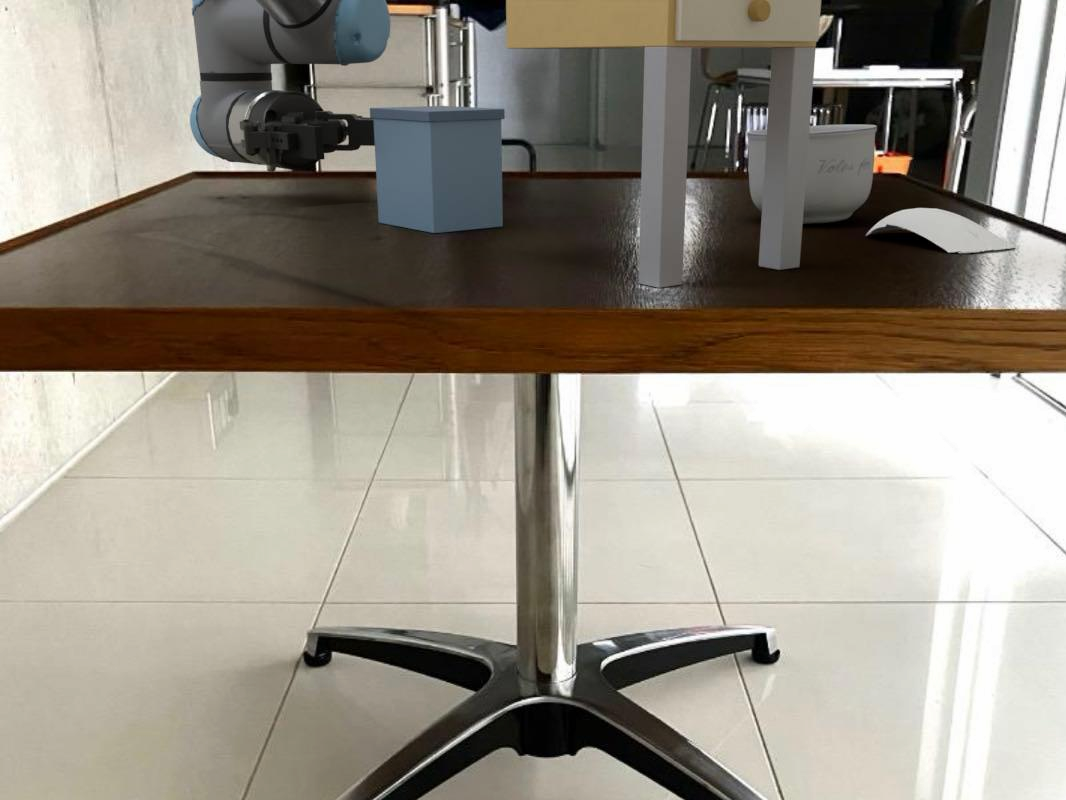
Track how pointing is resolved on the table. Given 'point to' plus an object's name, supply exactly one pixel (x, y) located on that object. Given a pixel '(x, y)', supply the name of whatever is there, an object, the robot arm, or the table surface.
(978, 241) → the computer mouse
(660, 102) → the drawer chest
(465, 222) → the storage box
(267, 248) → the table surface
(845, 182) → the teacup
